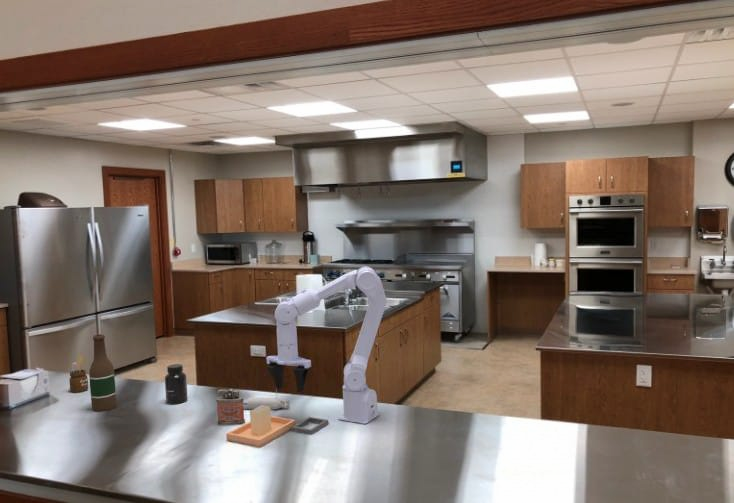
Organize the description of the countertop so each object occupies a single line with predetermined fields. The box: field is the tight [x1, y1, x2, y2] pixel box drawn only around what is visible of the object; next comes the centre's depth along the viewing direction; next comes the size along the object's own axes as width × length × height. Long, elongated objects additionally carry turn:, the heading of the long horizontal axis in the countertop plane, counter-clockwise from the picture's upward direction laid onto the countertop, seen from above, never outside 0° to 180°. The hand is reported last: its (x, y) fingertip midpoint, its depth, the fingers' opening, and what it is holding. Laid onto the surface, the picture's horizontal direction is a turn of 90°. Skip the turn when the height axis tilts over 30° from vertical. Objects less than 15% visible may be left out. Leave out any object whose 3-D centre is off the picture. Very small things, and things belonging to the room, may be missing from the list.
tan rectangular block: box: [249, 405, 272, 436], centre depth 163 cm, size 3×5×6 cm, turn 150°
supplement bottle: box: [164, 363, 188, 405], centre depth 195 cm, size 7×7×12 cm
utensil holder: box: [68, 355, 89, 394], centre depth 212 cm, size 6×6×12 cm
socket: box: [291, 416, 329, 436], centre depth 166 cm, size 7×9×1 cm
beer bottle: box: [88, 333, 117, 412], centre depth 191 cm, size 8×8×24 cm
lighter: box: [215, 388, 246, 426], centre depth 173 cm, size 8×3×10 cm, turn 84°
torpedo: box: [243, 389, 290, 411], centre depth 184 cm, size 18×5×7 cm, turn 81°
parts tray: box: [225, 415, 297, 448], centre depth 164 cm, size 12×16×2 cm
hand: (290, 389), depth 171 cm, fingers open, 7 cm apart
